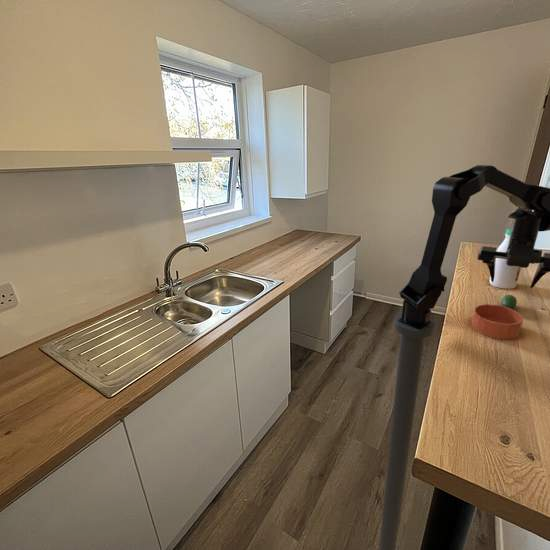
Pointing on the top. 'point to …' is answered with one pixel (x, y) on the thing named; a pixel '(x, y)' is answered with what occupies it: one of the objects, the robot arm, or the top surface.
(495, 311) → the bowl
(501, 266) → the milk bottle
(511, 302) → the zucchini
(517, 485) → the top surface
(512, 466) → the top surface
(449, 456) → the top surface
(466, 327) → the top surface
